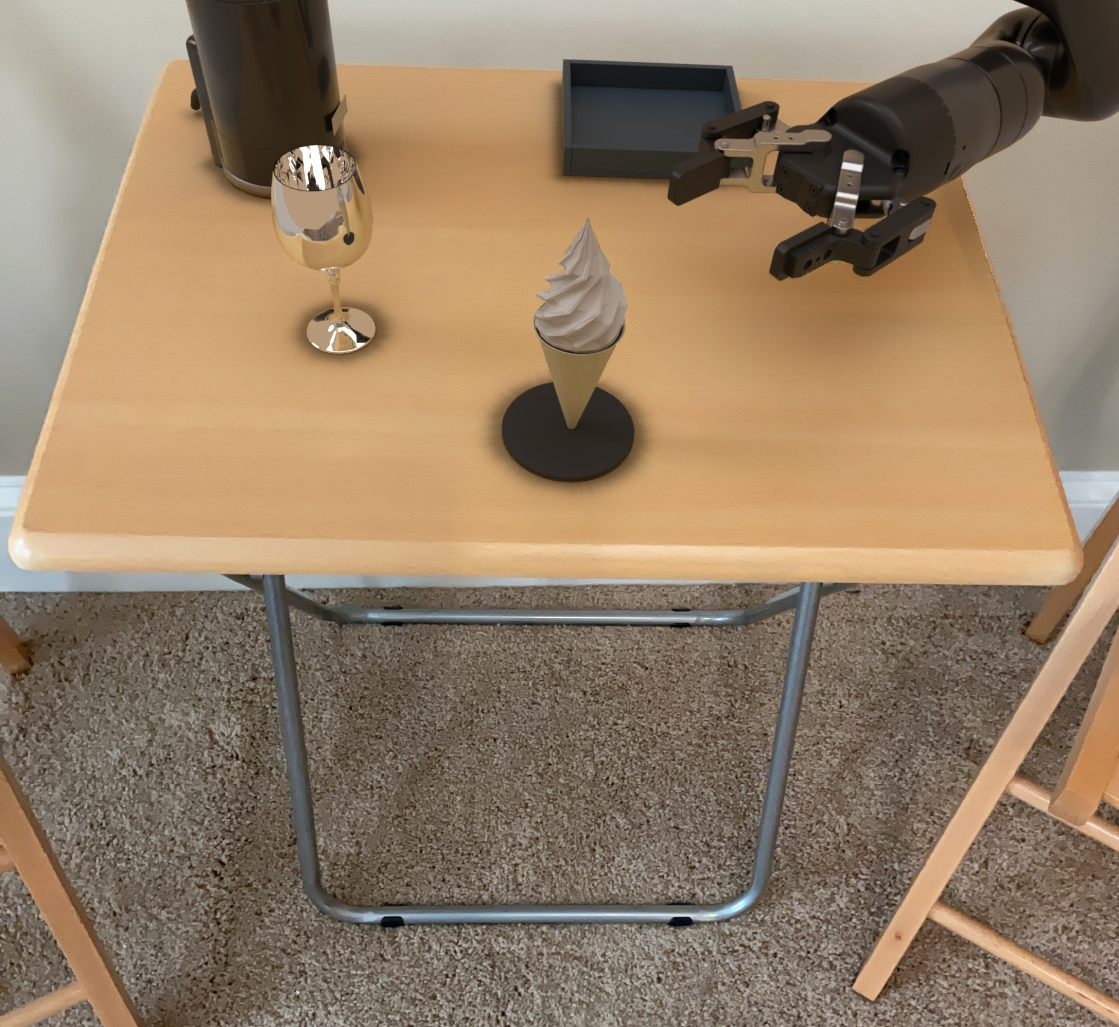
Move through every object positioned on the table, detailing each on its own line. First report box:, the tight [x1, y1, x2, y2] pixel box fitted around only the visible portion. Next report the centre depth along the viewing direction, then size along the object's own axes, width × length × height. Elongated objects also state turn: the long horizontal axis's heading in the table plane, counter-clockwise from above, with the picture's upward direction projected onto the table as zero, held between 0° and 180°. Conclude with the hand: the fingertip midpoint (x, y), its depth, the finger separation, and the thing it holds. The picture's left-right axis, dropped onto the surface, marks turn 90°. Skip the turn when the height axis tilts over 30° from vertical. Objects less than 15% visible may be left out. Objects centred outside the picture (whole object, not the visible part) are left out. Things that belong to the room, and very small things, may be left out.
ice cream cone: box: [532, 216, 629, 429], centre depth 57 cm, size 5×5×15 cm
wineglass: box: [270, 145, 377, 355], centre depth 63 cm, size 6×6×12 cm
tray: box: [561, 58, 750, 180], centre depth 83 cm, size 14×13×2 cm
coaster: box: [501, 381, 635, 483], centre depth 63 cm, size 8×8×1 cm
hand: (722, 226), depth 59 cm, fingers open, 8 cm apart
